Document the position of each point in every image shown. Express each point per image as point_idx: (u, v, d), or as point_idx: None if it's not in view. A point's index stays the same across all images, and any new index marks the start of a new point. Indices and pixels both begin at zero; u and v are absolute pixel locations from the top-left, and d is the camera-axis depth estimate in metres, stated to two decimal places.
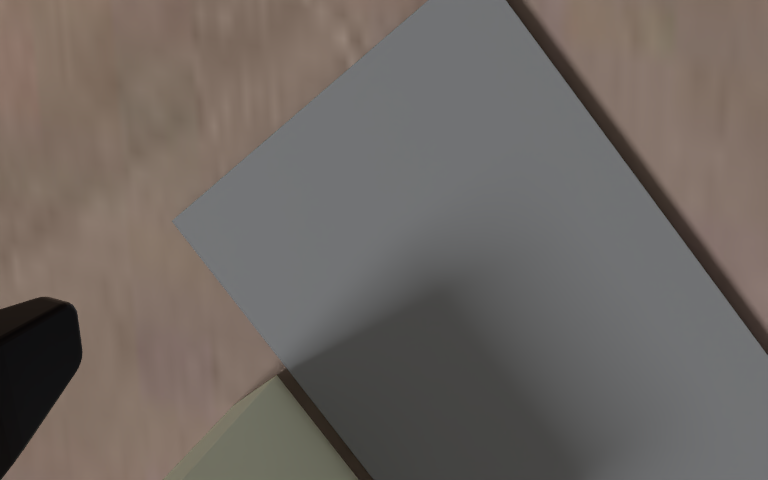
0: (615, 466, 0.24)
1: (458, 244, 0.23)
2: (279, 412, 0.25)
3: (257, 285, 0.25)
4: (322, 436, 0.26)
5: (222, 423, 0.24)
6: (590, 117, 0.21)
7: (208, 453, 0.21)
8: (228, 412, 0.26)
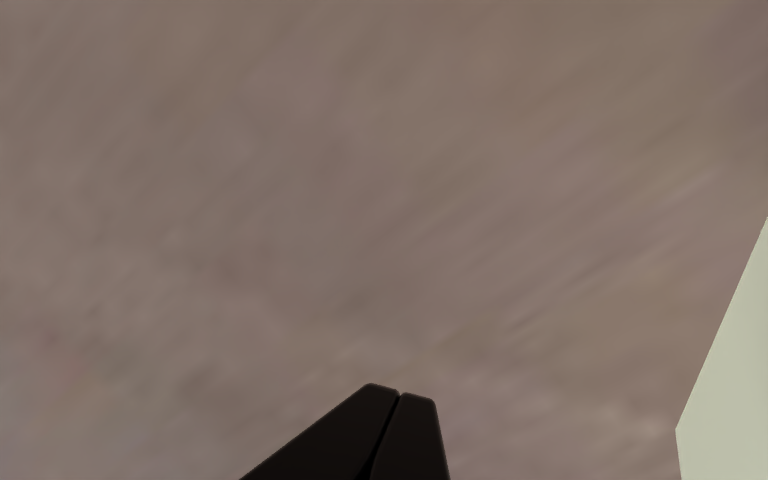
0: None
1: None
2: None
3: None
4: None
5: None
6: None
7: None
8: None
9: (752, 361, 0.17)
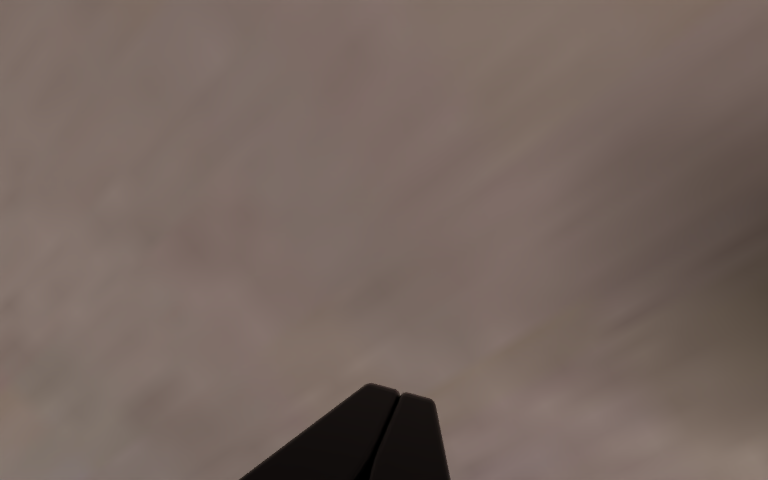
0: None
1: None
2: None
3: None
4: None
5: None
6: None
7: None
8: None
9: None
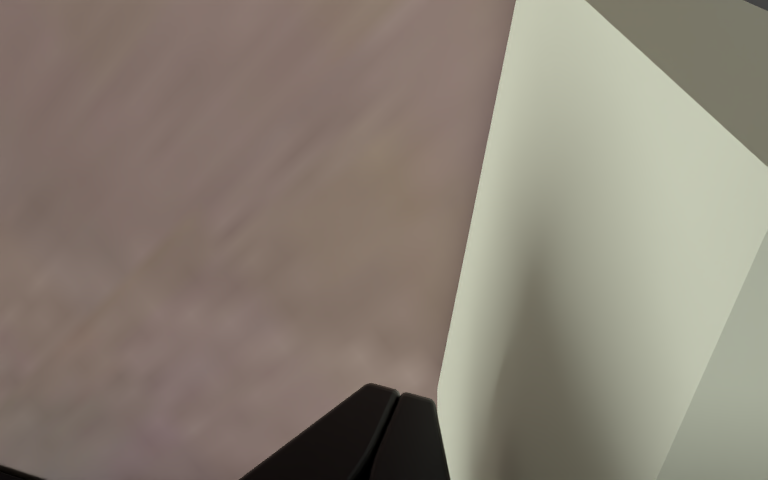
0: None
1: None
2: None
3: None
4: None
5: None
6: None
7: None
8: None
9: (487, 265, 0.11)
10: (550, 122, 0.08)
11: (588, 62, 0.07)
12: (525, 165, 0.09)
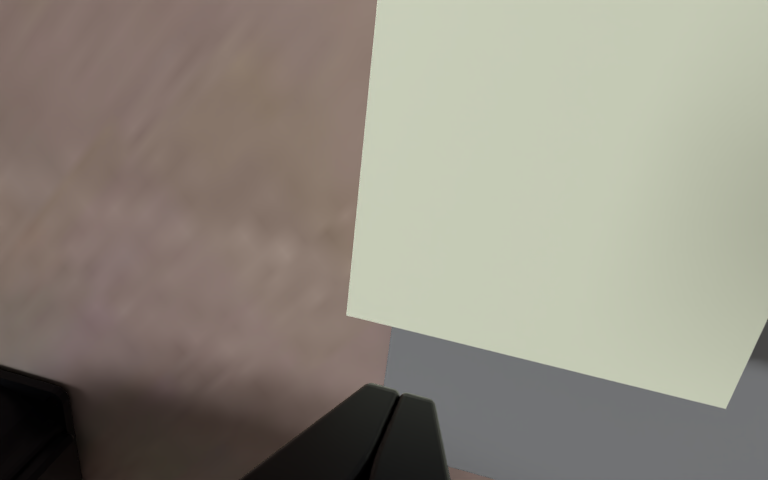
0: None
1: None
2: None
3: None
4: None
5: None
6: None
7: None
8: None
9: (491, 156, 0.16)
10: (620, 28, 0.14)
11: None
12: (565, 66, 0.14)
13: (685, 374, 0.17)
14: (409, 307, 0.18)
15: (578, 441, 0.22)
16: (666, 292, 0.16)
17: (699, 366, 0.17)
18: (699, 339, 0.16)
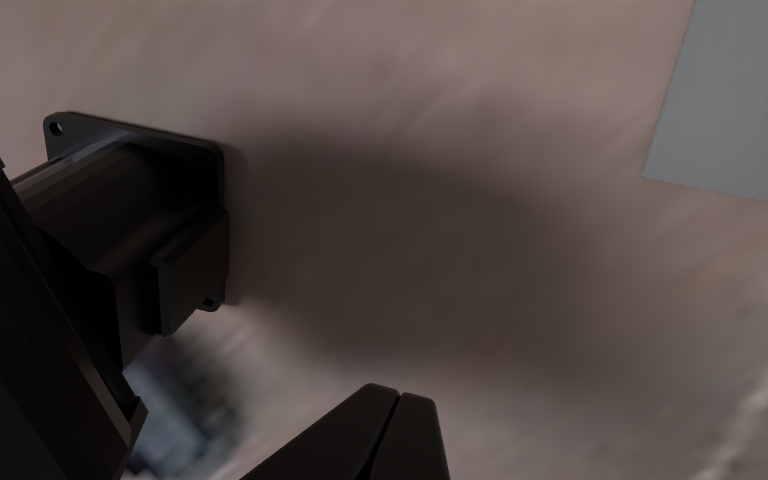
0: None
1: None
2: None
3: None
4: None
5: None
6: None
7: None
8: None
9: None
10: None
11: None
12: None
13: None
14: None
15: None
16: None
17: None
18: None
